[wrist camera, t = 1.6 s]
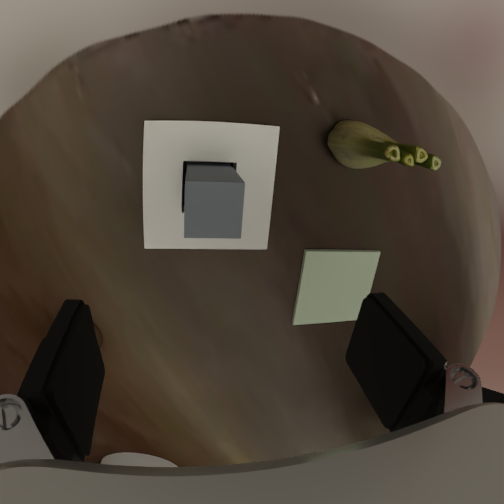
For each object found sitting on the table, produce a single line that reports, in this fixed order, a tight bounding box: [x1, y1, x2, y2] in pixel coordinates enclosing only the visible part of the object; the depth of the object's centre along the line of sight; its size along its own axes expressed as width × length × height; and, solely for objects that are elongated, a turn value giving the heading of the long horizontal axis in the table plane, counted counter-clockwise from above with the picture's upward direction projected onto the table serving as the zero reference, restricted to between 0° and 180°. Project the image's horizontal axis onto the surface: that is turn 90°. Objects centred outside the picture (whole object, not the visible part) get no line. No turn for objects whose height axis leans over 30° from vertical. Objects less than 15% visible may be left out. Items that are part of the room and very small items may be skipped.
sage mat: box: [292, 249, 380, 325], centre depth 38 cm, size 10×10×1 cm
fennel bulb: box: [327, 120, 441, 170], centre depth 26 cm, size 6×5×12 cm
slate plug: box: [184, 162, 245, 239], centre depth 26 cm, size 4×4×10 cm
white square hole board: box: [143, 121, 280, 249], centre depth 29 cm, size 12×12×2 cm
